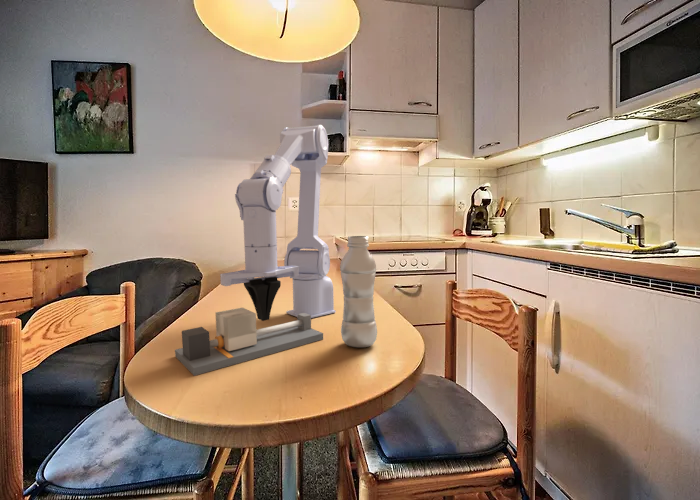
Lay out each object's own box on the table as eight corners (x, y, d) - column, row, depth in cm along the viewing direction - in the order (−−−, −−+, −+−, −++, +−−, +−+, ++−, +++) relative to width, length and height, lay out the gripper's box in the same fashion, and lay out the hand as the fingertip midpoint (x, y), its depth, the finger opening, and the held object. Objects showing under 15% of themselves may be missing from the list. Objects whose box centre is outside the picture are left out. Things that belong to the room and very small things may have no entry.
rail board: (295, 327, 78) (295, 303, 77) (323, 339, 70) (322, 312, 69) (175, 356, 62) (173, 326, 62) (194, 375, 55) (192, 342, 54)
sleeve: (243, 336, 68) (242, 307, 67) (256, 344, 63) (255, 313, 63) (216, 342, 64) (215, 312, 64) (228, 351, 60) (227, 318, 60)
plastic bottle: (366, 354, 62) (365, 238, 60) (333, 347, 66) (332, 237, 64) (383, 343, 68) (383, 235, 66) (352, 337, 71) (351, 235, 69)
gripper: (230, 250, 58) (234, 332, 59) (306, 244, 67) (308, 316, 69) (214, 247, 63) (218, 323, 65) (287, 242, 73) (289, 308, 74)
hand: (263, 319), depth 67 cm, fingers closed
